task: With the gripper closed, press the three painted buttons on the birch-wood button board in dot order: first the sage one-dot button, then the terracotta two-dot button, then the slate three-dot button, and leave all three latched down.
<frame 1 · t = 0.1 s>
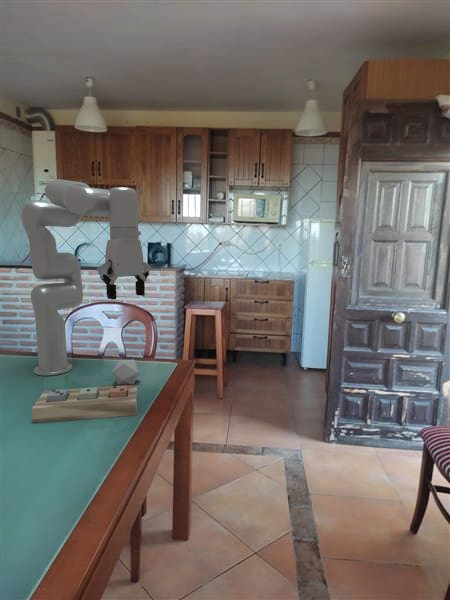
hand: (126, 297, 107), 31 cm above the table, tool pointing down, fingers open, 9 cm apart
button one: (88, 395, 106), point 4 cm above the table, slide at 0.0 cm
die: (126, 383, 127), on the table
button three: (57, 397, 104), point 4 cm above the table, slide at 0.0 cm
button two: (118, 393, 107), point 4 cm above the table, slide at 0.0 cm
button board: (89, 409, 107), on the table
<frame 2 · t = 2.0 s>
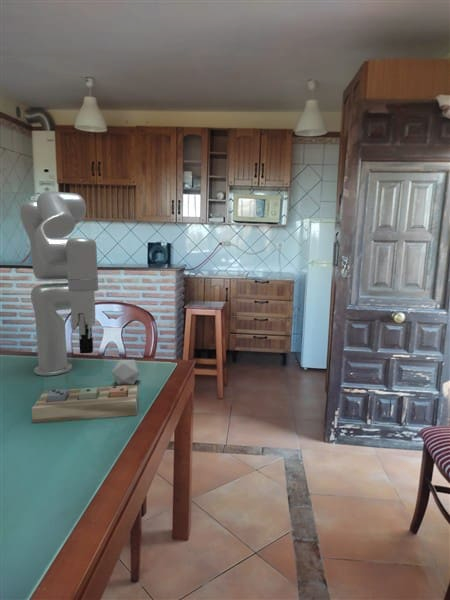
hand: (86, 352, 104), 16 cm above the table, tool pointing down, fingers closed
nothing on the table moved.
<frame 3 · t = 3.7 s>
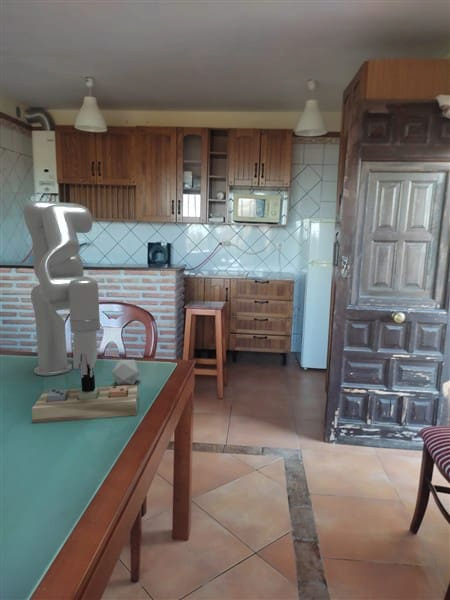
hand: (88, 390, 106), 6 cm above the table, tool pointing down, fingers closed
button one: (88, 395, 106), point 4 cm above the table, slide at 0.0 cm, touching gripper
everything else where it was.
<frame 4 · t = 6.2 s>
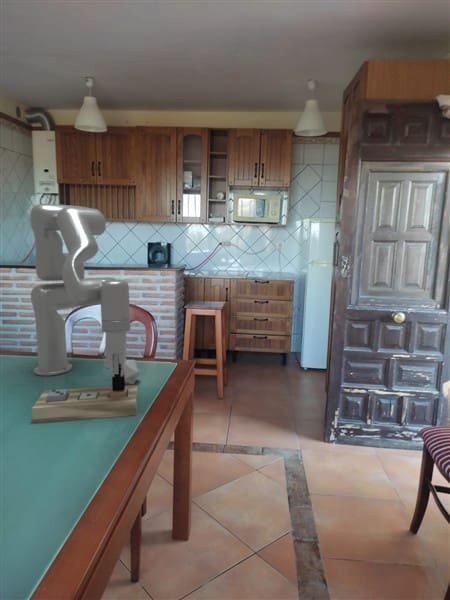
hand: (118, 389, 107), 5 cm above the table, tool pointing down, fingers closed
button one: (88, 400, 106), point 3 cm above the table, slide at 1.4 cm
button two: (118, 394, 108), point 4 cm above the table, slide at 0.3 cm, touching gripper
everything else where it was.
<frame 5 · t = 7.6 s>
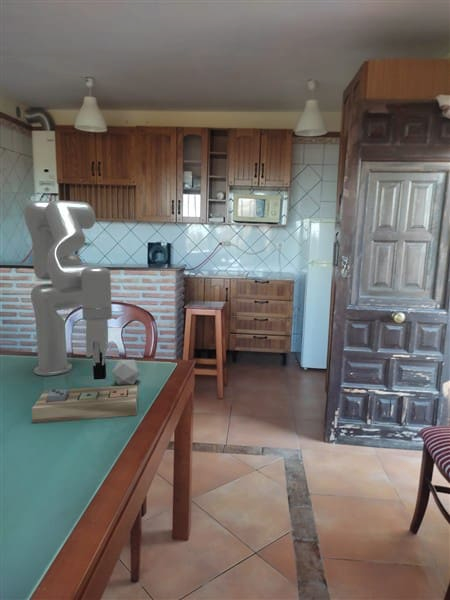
hand: (100, 378, 106), 9 cm above the table, tool pointing down, fingers closed
button two: (118, 398, 108), point 3 cm above the table, slide at 1.4 cm
everything else where it was.
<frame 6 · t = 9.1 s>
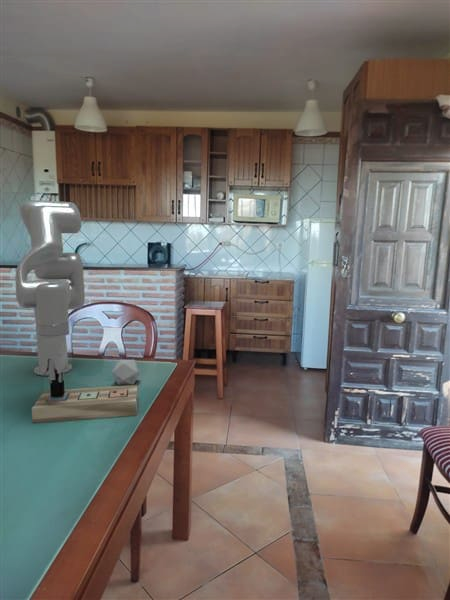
hand: (57, 395, 104), 5 cm above the table, tool pointing down, fingers closed
button three: (58, 400, 105), point 3 cm above the table, slide at 0.9 cm, touching gripper
everything else where it was.
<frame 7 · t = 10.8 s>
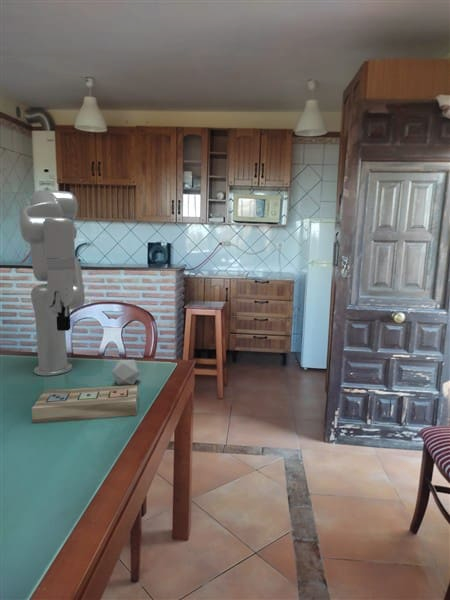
hand: (63, 329, 107), 22 cm above the table, tool pointing down, fingers closed
button three: (58, 402, 105), point 3 cm above the table, slide at 1.4 cm
everything else where it was.
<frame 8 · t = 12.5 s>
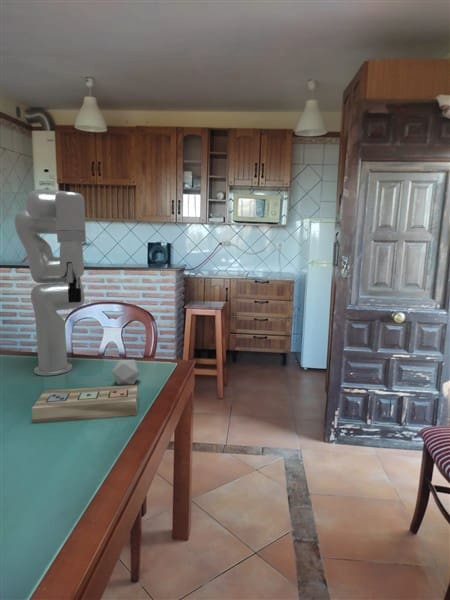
hand: (75, 301, 110), 29 cm above the table, tool pointing down, fingers closed
nothing on the table moved.
at the end: button one slide at 1.4 cm; button two slide at 1.4 cm; button three slide at 1.4 cm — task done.
